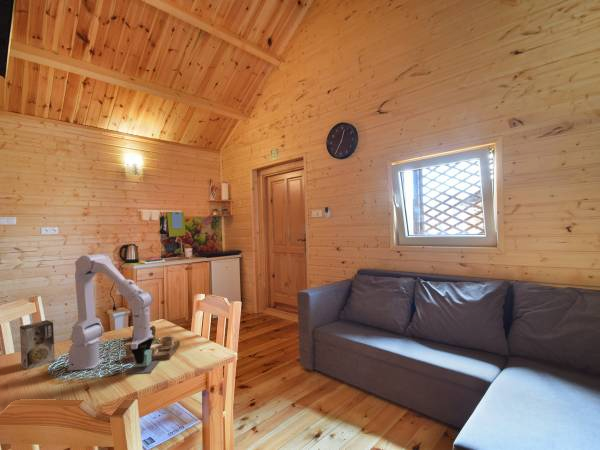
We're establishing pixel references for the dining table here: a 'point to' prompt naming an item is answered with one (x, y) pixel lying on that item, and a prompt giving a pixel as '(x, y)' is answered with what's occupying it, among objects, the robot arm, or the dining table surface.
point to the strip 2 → (165, 342)
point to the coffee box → (37, 344)
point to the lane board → (161, 355)
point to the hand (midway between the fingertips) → (142, 360)
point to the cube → (146, 359)
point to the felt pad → (142, 369)
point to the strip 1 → (129, 353)
